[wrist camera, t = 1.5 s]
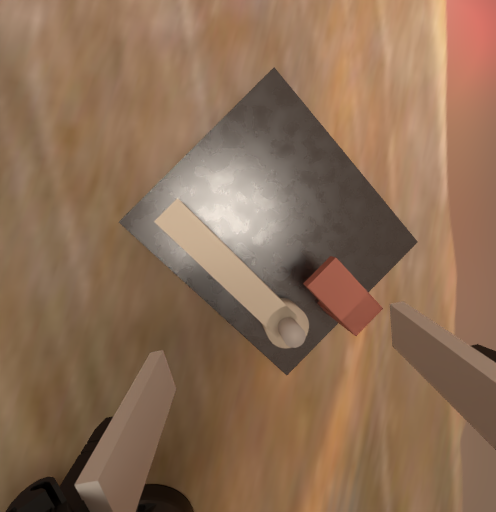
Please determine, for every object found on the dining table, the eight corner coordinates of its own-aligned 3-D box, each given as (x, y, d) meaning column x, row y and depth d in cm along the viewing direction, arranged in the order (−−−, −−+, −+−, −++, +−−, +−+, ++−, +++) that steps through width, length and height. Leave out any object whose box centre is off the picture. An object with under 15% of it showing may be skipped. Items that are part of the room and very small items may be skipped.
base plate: (284, 370, 41) (286, 375, 39) (122, 222, 35) (118, 222, 33) (410, 241, 41) (417, 241, 40) (271, 74, 35) (274, 67, 34)
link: (306, 315, 38) (327, 335, 31) (279, 343, 38) (294, 369, 31) (187, 196, 34) (179, 188, 27) (156, 227, 34) (140, 227, 27)
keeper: (329, 315, 39) (355, 336, 32) (289, 274, 37) (307, 286, 30) (351, 293, 39) (383, 308, 32) (312, 251, 37) (336, 257, 30)
